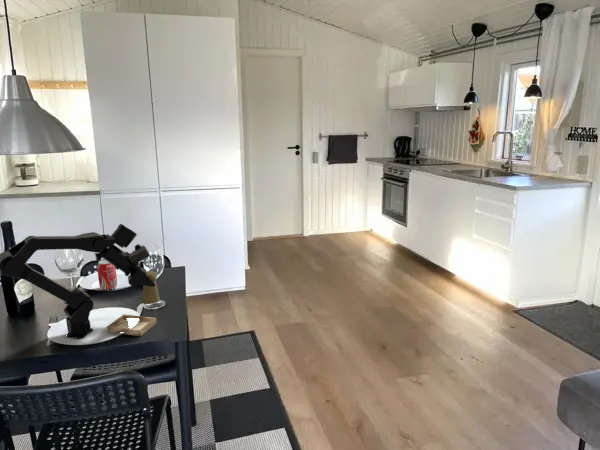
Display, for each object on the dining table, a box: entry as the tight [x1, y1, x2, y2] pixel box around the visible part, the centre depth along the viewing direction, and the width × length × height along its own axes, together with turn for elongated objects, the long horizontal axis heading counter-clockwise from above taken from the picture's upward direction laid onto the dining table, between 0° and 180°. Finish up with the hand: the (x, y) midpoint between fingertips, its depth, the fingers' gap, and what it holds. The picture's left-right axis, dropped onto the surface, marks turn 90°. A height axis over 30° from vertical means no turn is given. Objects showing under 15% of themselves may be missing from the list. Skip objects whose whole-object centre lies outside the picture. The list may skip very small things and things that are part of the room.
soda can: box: [96, 259, 118, 291], centre depth 189 cm, size 7×7×12 cm
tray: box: [106, 314, 157, 337], centre depth 157 cm, size 13×10×2 cm
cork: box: [142, 270, 161, 305], centre depth 163 cm, size 6×6×11 cm
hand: (153, 282), depth 163 cm, fingers closed on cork, 5 cm apart
